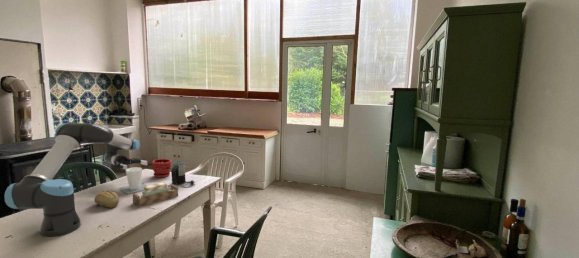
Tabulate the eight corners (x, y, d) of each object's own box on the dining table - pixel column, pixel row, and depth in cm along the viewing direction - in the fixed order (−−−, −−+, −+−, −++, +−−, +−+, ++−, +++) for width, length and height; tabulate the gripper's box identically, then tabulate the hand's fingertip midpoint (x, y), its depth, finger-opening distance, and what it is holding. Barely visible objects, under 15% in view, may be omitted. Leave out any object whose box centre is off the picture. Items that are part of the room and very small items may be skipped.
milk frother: (173, 181, 210) (172, 161, 208) (195, 179, 214) (195, 160, 212) (170, 187, 196) (169, 166, 194) (194, 186, 200) (194, 165, 198)
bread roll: (105, 200, 173) (104, 187, 172) (124, 204, 168) (123, 191, 167) (89, 206, 164) (88, 193, 163) (109, 210, 159) (108, 196, 158)
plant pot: (156, 179, 212) (155, 163, 210) (150, 175, 222) (150, 160, 220) (174, 176, 221) (173, 161, 219) (168, 172, 230) (167, 157, 229)
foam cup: (142, 189, 190) (141, 170, 188) (126, 191, 187) (124, 171, 185) (143, 184, 199) (142, 166, 197) (128, 186, 196) (127, 167, 194)
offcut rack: (137, 206, 164) (137, 196, 163) (132, 203, 169) (132, 193, 168) (178, 196, 182) (177, 186, 181) (172, 192, 187) (172, 184, 186)
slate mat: (127, 194, 182) (127, 193, 182) (118, 188, 192) (118, 187, 192) (151, 188, 193) (151, 188, 193) (142, 183, 203) (142, 182, 203)
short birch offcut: (147, 192, 169) (146, 188, 169) (144, 190, 172) (143, 186, 172) (167, 187, 178) (166, 183, 177) (163, 185, 181) (163, 182, 180)
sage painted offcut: (145, 197, 169) (145, 193, 168) (142, 195, 172) (142, 191, 171) (168, 191, 179) (168, 187, 179) (165, 189, 182) (165, 185, 181)
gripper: (137, 162, 211) (154, 166, 200) (100, 169, 190) (117, 175, 179) (137, 152, 210) (154, 156, 199) (99, 158, 189) (116, 163, 178)
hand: (136, 165), depth 189 cm, fingers open, 13 cm apart
